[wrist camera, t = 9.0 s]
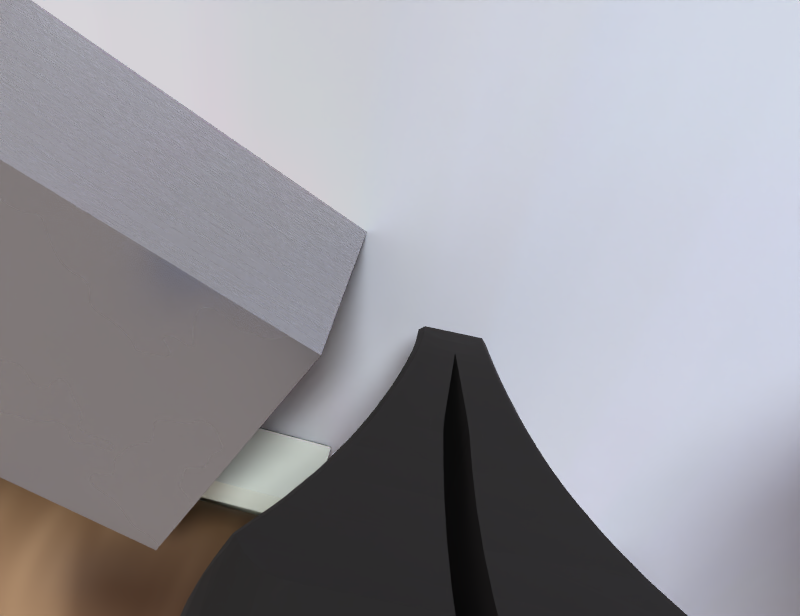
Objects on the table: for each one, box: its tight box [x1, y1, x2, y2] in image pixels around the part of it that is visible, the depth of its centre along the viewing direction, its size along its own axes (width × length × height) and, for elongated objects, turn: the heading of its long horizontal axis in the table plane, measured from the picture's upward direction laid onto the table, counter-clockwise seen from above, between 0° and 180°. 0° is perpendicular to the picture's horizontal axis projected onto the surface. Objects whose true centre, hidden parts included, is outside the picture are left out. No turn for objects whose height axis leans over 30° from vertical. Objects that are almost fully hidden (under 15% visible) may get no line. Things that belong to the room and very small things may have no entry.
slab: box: [0, 0, 367, 550], centre depth 11 cm, size 8×7×4 cm
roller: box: [0, 477, 258, 616], centre depth 15 cm, size 7×4×4 cm, turn 75°
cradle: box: [199, 428, 331, 515], centre depth 16 cm, size 10×7×3 cm
